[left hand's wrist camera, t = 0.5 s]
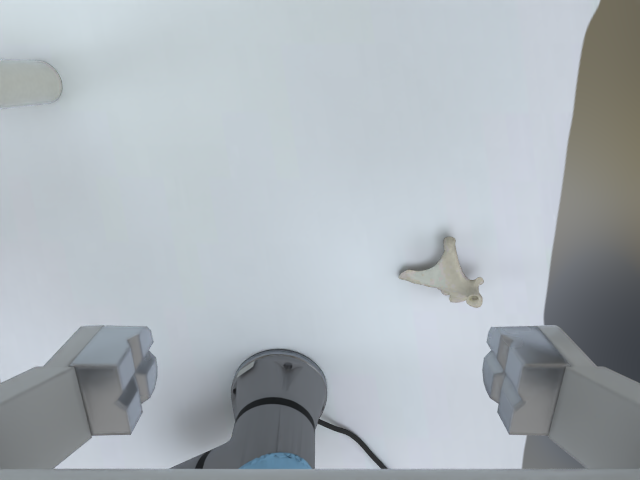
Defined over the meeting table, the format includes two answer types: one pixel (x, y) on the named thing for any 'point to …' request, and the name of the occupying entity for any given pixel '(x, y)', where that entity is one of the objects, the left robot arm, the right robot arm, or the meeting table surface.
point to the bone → (448, 277)
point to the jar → (27, 83)
